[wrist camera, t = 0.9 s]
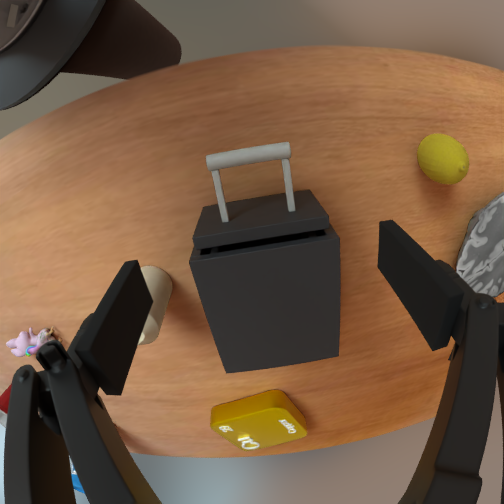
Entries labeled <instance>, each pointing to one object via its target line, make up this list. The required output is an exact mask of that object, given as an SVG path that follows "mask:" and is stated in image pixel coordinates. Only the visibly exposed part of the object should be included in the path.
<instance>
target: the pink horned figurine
mask: <svg viewBox="0 0 504 504" xmlns="http://www.w3.org/2000/svg"><path fill="white" fill-rule="evenodd" d="M53 328H54V327H53ZM29 332H30V334H29V333H28V332H25V331H22V332H21V333H20V335H19V337H18V338H16V339H11V340H10V341H8V342H7V343H6V345H7V346H8V347H10V348H16V349H13V350H11V352H12V353H13V354H14V355H15V356H17V357H23V356H25V355H26V356H28V357H29V356H31V355H32V354H35V353H37V351H38V349H39V348H40V347H41V346H42V345H43V344H45V343H46V342H48V341H51V340H56V339H55V338H54V337H53V336H50V333H52V332H54V330H53V329H52V327H51V331H49V330H48V329H46V328H45V329H43V330H41V331H40V332H39V334H38V335H34V334H33V333H32V328H31V327H30V328H29ZM61 339H62V338H61ZM61 339H60V337H59V341H60V342H62V341H61ZM17 347H18V348H17Z"/></svg>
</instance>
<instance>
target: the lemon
mask: <svg viewBox="0 0 504 504" xmlns="http://www.w3.org/2000/svg"><path fill="white" fill-rule="evenodd" d="M417 159H418V163H419V166H420V168H421V170H422V171H423V172H424V173H425V175H427V176H428V177H429V178H430V179H432V180H433V181H436V182H438V183H441V184H455V183H458V182H460V181H461V180H462V179H463V178H464V177H465V176H466V174H467V172H468V169H469V158H468V154H467V152H466V150H465V148H464V147H463V146H462V145H461V143H459V142H458V141H457V140H455V139H454V138H452V137H451V136H448V135H445V134H432V135H429V136H427V137H425V138H424V139H423V140H422V141H421V143H420V144H419V147H418V150H417Z"/></svg>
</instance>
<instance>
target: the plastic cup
mask: <svg viewBox="0 0 504 504" xmlns="http://www.w3.org/2000/svg"><path fill="white" fill-rule="evenodd" d="M11 386H12V384H11V385H10V386H9V387H8V389H6V390H5V392H4V393H3V394H2V395H1V396H0V424H1V425H2V426H4V427H5V428H6V422H7V413H8V405H9V398H10V392H11Z"/></svg>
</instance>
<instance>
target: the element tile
mask: <svg viewBox="0 0 504 504" xmlns="http://www.w3.org/2000/svg"><path fill="white" fill-rule="evenodd" d="M210 427H211V429H212V430H214V431H215V432H217V433H218V434H219V435H221V436H222V437H224V438H225V439H226V440H228V441H229V442H231V443H232V444H234V445H235V446H237V447H238V448H240V449H242V450H244V451H251V450H256V449H261V448H265V447H270V446H274V445H278V444H282V443H286V442H289V441H293V440H297V439H300V438H303V437H305V436H306V435H307V427H306V421H305V417H304V416H303V415H302V413H301V412H300V411H299V410H298V409H297V408H296V406H295V405H294V404H293V403H292V402H291V400H290V399H289V398H288V397H287V396H286V395H285V393H284V392H282V391H280V390H270V391H266V392H263V393H260V394H257V395H253V396H250V397H246V398H243V399H239V400H236V401H232V402H229V403H225V404H221V405H217V406H215V407H213V408H212V410H211V420H210Z"/></svg>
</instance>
